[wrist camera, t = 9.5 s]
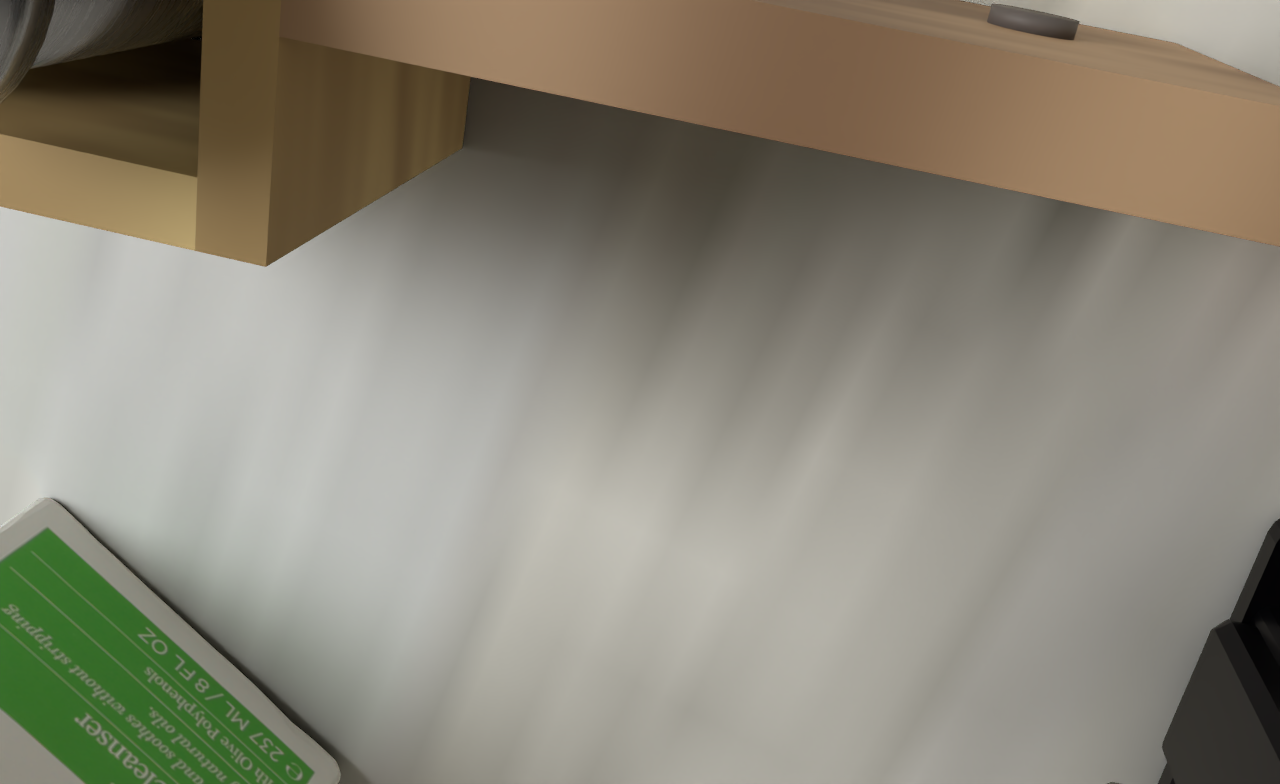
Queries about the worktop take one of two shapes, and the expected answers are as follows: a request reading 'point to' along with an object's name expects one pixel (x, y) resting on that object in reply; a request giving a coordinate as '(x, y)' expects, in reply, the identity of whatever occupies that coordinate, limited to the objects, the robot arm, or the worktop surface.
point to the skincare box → (122, 677)
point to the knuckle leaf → (626, 107)
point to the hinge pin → (86, 31)
